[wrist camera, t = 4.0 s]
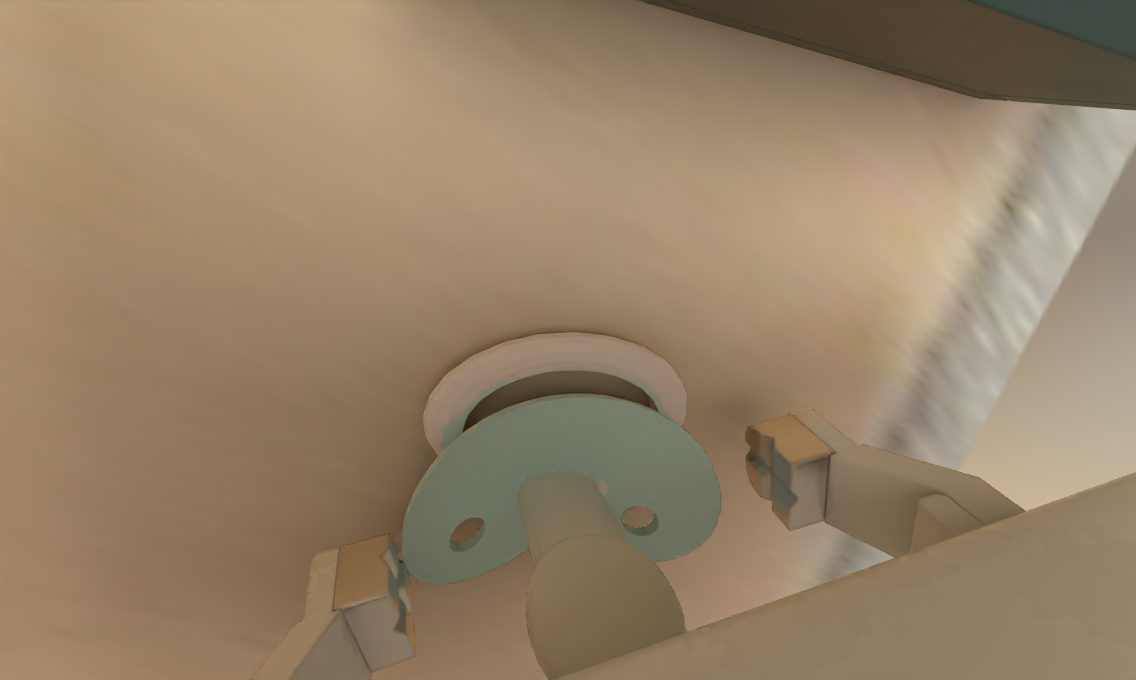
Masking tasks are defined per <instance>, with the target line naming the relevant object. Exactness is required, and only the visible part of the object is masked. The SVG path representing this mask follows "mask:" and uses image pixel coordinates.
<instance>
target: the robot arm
mask: <svg viewBox="0 0 1136 680" xmlns="http://www.w3.org/2000/svg"><path fill="white" fill-rule="evenodd" d="M745 442H746V443H747V444H748V445H749V446H750V447H751V449H750V451H749V452H748V454H747V455H746V457H745V461H746V471H747V474H748V478H749V481H750V483H751V484H752V486H753V488H754V489H755V491H756V492H757V493H758V494H759V496H760V497H762V498H765V499H767V500H770V501H772V511H773V512H774V514H775V515H776V516H777V517H778V518H779V519H780V521H781V522H782V523H783V524H784V525H785V526H786V528H787V529H788V530H789V531H792V530H795V529H798V528H802V527H805V526H808V525H811V524H815V523H818V522H821V521H825V523H827V524H829V525H831V526H833V527H835V528H837V529H839V530H841V531H843V532H845V533H847V534H849V535H851V536H853V537H855V538H857V539H859V540H861V541H863V542H865V543H867V544H869V545H871V546H873V547H875V548H877V549H879V550H881V551H883V552H885V553H887V554H889V555H891V556H893V557H895V558H894V559H891V560H888V561H885V562H883V563H880V564H877V565H874V566H871V567H869V568H866V569H863V570H860V571H857V572H855V573H852V574H849V575H846V576H843V577H841V578H838V579H835V580H832V581H829V582H827V583H824V584H821V585H818V586H815V587H813V588H810V589H807V590H804V591H801V592H798V593H796V594H793V595H790V596H787V597H784V598H782V599H779V600H776V601H773V602H770V603H768V604H765V605H762V606H759V607H756V608H753V609H751V610H748V611H745V612H742V613H739V614H737V615H734V616H731V617H728V618H725V619H722V620H720V621H717V622H714V623H711V624H708V625H706V626H703V627H700V628H697V629H694V630H692V631H689V632H686V633H683V634H680V635H678V636H675V637H672V638H669V639H666V640H664V641H661V642H658V643H655V644H652V645H650V646H647V647H644V648H641V649H638V650H636V651H633V652H630V653H627V654H624V655H622V656H619V657H616V658H613V659H610V660H608V661H605V662H602V663H599V664H596V665H594V666H591V667H588V668H585V669H582V670H580V671H577V672H574V673H571V674H568V675H566V676H563V677H560V678H557V679H554V680H1136V472H1135V473H1132V474H1129V475H1127V476H1124V477H1121V478H1118V479H1115V480H1113V481H1110V482H1107V483H1104V484H1101V485H1098V486H1096V487H1093V488H1090V489H1087V490H1084V491H1082V492H1079V493H1076V494H1073V495H1070V496H1068V497H1065V498H1062V499H1059V500H1057V501H1054V502H1051V503H1049V504H1045V505H1042V506H1040V507H1037V508H1034V509H1031V510H1028V511H1025V510H1024V509H1022V508H1021V507H1020V506H1018V505H1017V504H1015V503H1014V502H1012V501H1011V500H1010V499H1008V498H1007V497H1005V496H1004V495H1003V494H1001V493H1000V492H999V491H997V490H996V489H994V488H993V487H992V486H990V485H989V484H987V483H986V482H985V481H983V480H982V479H980V478H979V477H975V476H972V475H969V474H965V473H962V472H958V471H955V470H951V469H948V468H944V467H941V466H937V465H934V464H930V463H927V462H923V461H920V460H916V459H913V458H909V457H906V456H902V455H899V454H895V453H892V452H888V451H885V450H881V449H878V448H874V447H871V446H867V445H860V446H857V445H856V444H854V443H853V442H852V441H851V440H850V439H848V438H847V437H846V436H845V435H844V434H842V433H841V432H840V431H839V430H837V429H836V428H835V427H834V426H833V425H831V424H830V423H829V422H828V421H827V420H825V419H824V418H823V417H822V416H820V415H819V414H818V413H817V412H816V411H814V410H813V409H810V408H805V409H801V410H798V411H795V412H792V413H789V414H787V415H784V416H781V417H777V418H774V419H771V420H767V421H764V422H761V423H758V424H754V425H751V426H748V427H747V430H746V432H745ZM412 610H413V596H412V589H411V583H410V579H409V575H408V572H407V569H406V566H405V563H404V562H403V561H401V560H399V559H398V545H397V543H396V540H395V538H394V536H393V534H391V533H388V534H384V535H381V536H377V537H374V538H370V539H366V540H363V541H359V542H355V543H352V544H348V545H344V546H341V547H339V548H335V549H331V550H328V551H324V552H321V553H317V554H315V556H314V558H313V559H312V563H311V569H310V575H309V582H308V588H307V595H306V601H305V608H304V614H303V620H302V622H299V623H295V624H294V625H293V626H292V628H291V629H290V630H289V632H288V633H287V634H286V635H285V637H284V638H283V639H282V640H281V642H280V643H279V644H278V645H277V647H276V648H275V649H274V650H273V652H272V653H271V654H270V655H269V657H268V658H267V659H266V660H265V662H264V663H263V664H262V665H261V667H260V668H259V669H258V671H257V672H256V673H255V674H254V676H253V677H252V678H251V679H250V680H370V678H371V676H372V675H371V673H372V672H375V671H378V670H380V669H383V668H386V667H389V666H391V665H394V664H397V663H399V662H402V661H405V660H408V659H410V658H413V657H415V635H414V626H413V623H412V620H411V618H410V613H411V611H412Z"/></svg>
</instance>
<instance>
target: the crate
mask: <svg viewBox="0 0 1136 680" xmlns="http://www.w3.org/2000/svg"><path fill="white" fill-rule="evenodd" d="M640 1H643V2H647V3H650V4H654V5H657V6H661V7H664V8H668V9H671V10H675V11H678V12H682V13H685V14H689V15H692V16H695V17H699V18H702V19H706V20H709V21H713V22H716V23H720V24H723V25H727V26H730V27H734V28H737V29H741V30H744V31H747V32H751V33H754V34H758V35H761V36H765V37H768V38H772V39H775V40H779V41H782V42H786V43H789V44H793V45H796V46H799V47H803V48H806V49H810V50H813V51H817V52H820V53H824V54H827V55H831V56H834V57H838V58H841V59H845V60H848V61H851V62H855V63H858V64H862V65H865V66H869V67H872V68H876V69H879V70H883V71H886V72H890V73H893V74H897V75H900V76H903V77H907V78H910V79H914V80H917V81H921V82H924V83H928V84H931V85H935V86H938V87H942V88H945V89H949V90H952V91H955V92H959V93H962V94H966V95H969V96H973V97H976V98H980V99H991V100H1004V101H1007V100H1010V101H1018V102H1032V103H1045V104H1058V105H1071V106H1084V107H1097V108H1110V109H1124V110H1136V0H640Z"/></svg>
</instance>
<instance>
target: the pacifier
mask: <svg viewBox="0 0 1136 680" xmlns="http://www.w3.org/2000/svg"><path fill="white" fill-rule="evenodd" d="M573 370H577V371H587V372H598V373H604V374H607V375H611V376H615V377H618V378H621V379H624V380H626V381H628V382H630V383H632V384H634V385H636V386H638V387H640V388H641V389H643V390H644V391H645V392H646V394H647V396H648V399H649V408H648V407H646V406H644V405H642V404H639V403H635V402H632V401H629V400H625V399H621V398H617V397H613V396H608V395H598V394H560V395H551V396H545V397H540V398H536V399H532V400H528V401H525V402H522V403H518V404H515V405H512V406H509V407H507V408H505V409H503V410H501V411H499V412H496V413H494V414H492V415H490V416H488V417H486V418H484V419H482V420H481V421H479V422H478V423H476V424H475V425H473V426H472V427H470V428H469V429H467V430H466V431H465V432H463V428H464V425H465V422H466V419H467V416H468V414H469V413H470V412H471V411H472V410H473V409H474V407H475V406H476V405H477V404H478V403H479V401H481V400H482V399H483V398H485V397H486V396H488V395H489V394H491V393H492V392H494V391H495V390H497V389H498V388H500V387H503V386H505V385H507V384H510V383H512V382H515V381H517V380H520V379H522V378H526V377H530V376H534V375H539V374H543V373H548V372H558V371H573ZM686 410H687V393H686V390H685V388H684V385H683V382H682V380H681V377H680V376H679V374H678V373H677V372H676V371H675V370H674V369H673V368H672V367H671V366H670V365H669V363H668V362H667V361H666V360H665V359H663V358H662V357H660V356H658V355H656V354H655V353H653V352H651V351H650V350H648V349H646V348H645V347H643V346H641V345H638V344H635V343H631V342H628V341H625V340H622V339H619V338H616V337H613V336H606V335H598V334H590V333H581V332H564V333H545V334H537V335H532V336H528V337H523V338H519V339H514V340H510V341H505V342H503V343H500V344H498V345H495V346H493V347H491V348H488V349H486V350H484V351H481V352H479V353H476V354H474V355H472V356H471V357H469V358H468V359H467V360H465V361H464V362H462V363H461V364H460V365H458V366H457V367H455V368H454V369H453V370H451V371H450V372H448V373H447V374H446V375H445V376H444V378H443V379H442V380H441V381H440V383H439V384H438V385H437V386H436V388H435V389H434V390H433V391H432V393H431V394H430V395H429V398H428V401H427V404H426V408H425V411H424V415H423V424H424V429H425V435H426V440H427V441H428V443H429V444H430V445H431V447H432V448H433V450H434V451H435V453H436V454H437V455H438V457H437V458H436V459H435V461H434V462H433V463H432V465H431V466H430V467H429V469H428V470H427V471H426V473H425V475H424V476H423V478H422V479H421V481H420V483H419V484H418V486H417V488H416V490H415V492H414V494H413V496H412V498H411V501H410V503H409V505H408V507H407V511H406V514H405V518H404V522H403V526H402V537H401V551H402V556H403V562H404V563H405V566H406V568H407V570H408V572H409V574H411V575H412V576H413V577H414V578H416V579H417V580H419V581H423V582H425V583H428V584H451V583H456V582H460V581H464V580H467V579H470V578H473V577H476V576H479V575H482V574H484V573H486V572H489V571H491V570H493V569H496V568H498V567H499V566H501V565H503V564H505V563H507V562H509V561H511V560H513V559H514V558H516V557H517V556H519V555H520V554H522V553H524V552H525V551H527V550H528V549H529V551H530V554H531V557H532V561H533V564H534V567H535V570H534V572H533V575H532V577H531V581H530V585H529V589H528V593H527V604H526V617H527V628H528V633H529V637H530V641H531V645H532V648H533V651H534V653H535V656H536V658H537V660H538V663H539V665H540V666H541V668H542V670H543V671H544V673H545V675H546V676H547V678H548V679H549V680H554V679H557V678H560V677H563V676H566V675H568V674H571V673H574V672H577V671H580V670H582V669H585V668H588V667H591V666H594V665H596V664H599V663H602V662H605V661H608V660H610V659H613V658H616V657H619V656H622V655H624V654H627V653H630V652H633V651H636V650H638V649H641V648H644V647H647V646H650V645H652V644H655V643H658V642H661V641H664V640H666V639H669V638H672V637H675V636H678V635H680V634H683V633H686V628H685V621H684V616H683V613H682V609H681V606H680V603H679V601H678V599H677V596H676V594H675V592H674V590H673V588H672V586H671V585H670V583H669V582H668V580H667V578H666V577H665V575H664V574H663V573H662V572H661V571H660V569H659V568H658V567H657V566H656V565H655V564H654V563H656V562H661V561H666V560H671V559H675V558H677V557H680V556H683V555H685V554H688V553H690V552H692V551H693V550H695V549H697V548H698V547H700V546H701V545H702V544H703V542H705V541H706V540H707V539H708V538H709V537H710V536H711V534H712V532H713V530H714V529H715V527H716V525H717V522H718V518H719V515H720V511H721V494H720V489H719V483H718V479H717V477H716V475H715V472H714V470H713V465H712V464H711V462H710V460H709V458H708V456H707V455H706V453H705V451H704V450H703V449H702V447H701V446H700V445H699V444H698V443H697V442H696V441H695V440H694V439H693V437H692V436H691V435H690V434H689V433H688V432H687V431H686V430H684V429H683V428H682V425H683V422H684V420H685V418H686ZM634 506H643V507H646V508H649V509H650V510H652V511H653V512H654V519H653V521H652V522H651V523H650V524H649V525H648V526H646V527H643V528H632V527H629V526H627V525H625V524H624V523H623V522H622V516H623V513H624V512H625V511H626V510H627V509H629V508H631V507H634ZM473 517H478V518H481V519H482V520H483V524H482V526H481V528H480V530H479V531H478V532H477V533H476V535H474V536H473V537H472V538H470V539H469V540H467V541H465V542H461V543H455V542H453V541H451V540H450V538H451V535H452V533H453V531H454V530H455V529H456V528H457V526H458V525H460V524H461V523H462V522H463V521H465V520H467V519H469V518H473Z"/></svg>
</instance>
